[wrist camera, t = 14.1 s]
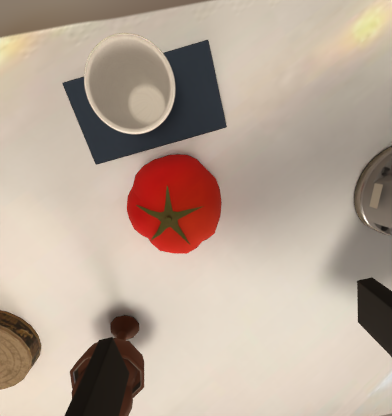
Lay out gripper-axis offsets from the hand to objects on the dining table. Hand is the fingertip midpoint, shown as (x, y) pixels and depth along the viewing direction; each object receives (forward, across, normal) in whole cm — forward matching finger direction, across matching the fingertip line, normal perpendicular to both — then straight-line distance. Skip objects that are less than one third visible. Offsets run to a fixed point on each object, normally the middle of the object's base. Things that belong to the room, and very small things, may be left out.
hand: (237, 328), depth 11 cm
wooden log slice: (+24, +44, +16) cm, 53 cm away
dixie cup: (+23, +4, -16) cm, 29 cm away
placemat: (+24, +4, -16) cm, 29 cm away
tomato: (+24, +4, -3) cm, 24 cm away
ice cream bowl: (+24, +20, +20) cm, 37 cm away
